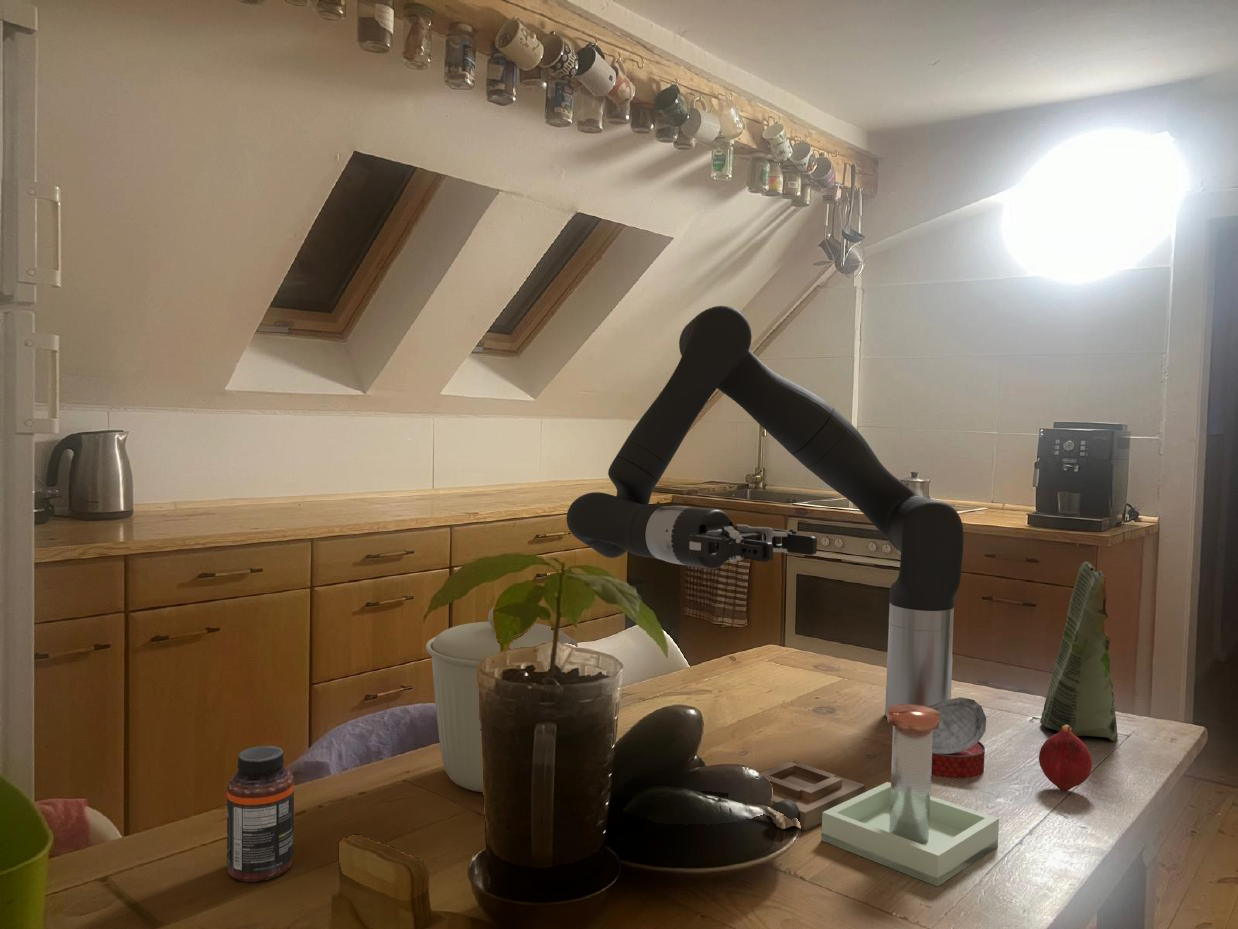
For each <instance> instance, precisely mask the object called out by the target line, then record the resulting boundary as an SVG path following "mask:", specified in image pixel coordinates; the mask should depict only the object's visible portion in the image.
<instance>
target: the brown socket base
mask: <svg viewBox="0 0 1238 929" xmlns="http://www.w3.org/2000/svg"><path fill="white" fill-rule="evenodd" d="M760 773H761V774H763V776H765V777H767V778H768V779H769V780H770V783H771V784H772V787H773V805H772V808H773V809H774V810H776V811H779V812H780V813H782V814H784V816H786V817H787V818H789V819H791V820H792V819H793V818H797V819H798V821H799V822H800V825H801V829H800V830H801V831H803V832H805V831H808V830H809V829H812V828H813V827H816V826H818V825H820V824H822V812H824V811H826V810H828V809H830V808H833V807H835V806H837V805H839V804H841V803H843V802H845V801H847V800H850V799H852V798H854V797H856V796H858V795H860V794H862V793H865V792H866V784H864V783H861V782H857V781H854V780H852V779H848V778H845V777H843V776H840V775H838V774H835V773H831V772H828V771H825V770H822V769H820V768H816V767H814V766H811V765H807V764H805V763H801V762H797V760H794V761H787V762H784V763H782V764H779V765H776V766H774V767H771V768H768V769H766V770H763V771H761V772H760Z"/></svg>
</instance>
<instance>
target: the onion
mask: <svg viewBox="0 0 1238 929" xmlns="http://www.w3.org/2000/svg"><path fill="white" fill-rule="evenodd" d="M1071 729H1072V728H1071V727H1070V726H1068V725H1064V726H1062V730H1061V731H1060V732H1059V731H1058V732H1057V733H1055V734H1053V735H1051V736H1049V737H1048V738H1047V739H1046V740H1045V741H1044V743H1043V744H1042V746H1041V748H1040V749H1039V753H1038V754H1039V755H1038V762H1039V767H1040V769H1041V771H1042V773H1043V775H1044V776H1045V777H1046V778H1047V779H1048V781H1050V782H1051V783H1052V784H1053V785H1055V787H1057V789H1059V790H1060V791H1063V792H1067V791H1069V790H1071V789H1073V788H1075V787H1078V786H1079V785H1081V784H1082V783H1084V782H1085V781H1086V780H1087V779H1088V777H1089V776H1090V773H1091V772H1092V767H1093V759H1092V755H1091V752H1090V750H1089V749H1088V746H1087V745H1086V744H1085V743H1084V742H1083V741H1082V739H1080V737H1078V736H1075V735H1074V734H1073V733H1072V732H1071Z"/></svg>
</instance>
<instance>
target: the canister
mask: <svg viewBox="0 0 1238 929" xmlns="http://www.w3.org/2000/svg"><path fill="white" fill-rule="evenodd" d="M494 607H495V606H493V607H491V609H490V610H489V611H488V617H487V618H488V621H478V622H469V623H464V624H463V623H462V624H459V625H455V626H451V627H449V628H448V629H445V630H442V631H441V632H440V633H439V634H437V635H436V636H434V637H433V638H430V639H429V640H428V641H427V642H426V644H425V649H426V652H427V654H429V656H431V663H432V664H431V666H432V678H433V689H434V700H435V710H436V720H437V730H438V737H439V739H438V740H439V746H440V753H441V754H440V755H441V760H442V764H443V768H444V771H445V773H446V775H447V776H448V777H449V778H450V780H451V781H452V782H453V783H455V785H458V786H460V787H461V788H463V789H466V790H471V791H473V792H480V793H484V792H483V767H482V746H481V736H480V729H481V726H480V720H479V688H478V681H477V669H478V666H479V662H480V661H482V660H483V659H484V658H485V657H487V656H490V655H492V654H497V653H499V652H500V646H499V643H498V642H497V639H496V633H495V630H494V623H493V609H494ZM551 627H552V626H550V625H546V624H541V623H536V622H535V624H534V626H532V627H531V629H530V630H528V632H527V633H525V634H524V635H523V636H521V637H519V638H517V640H514V641H513V643H511V644H510V646H509V648H510V649H514V648H520V647H534V646H537V645H540V644H542V643H551V642H552V640H553V631H552V630H551ZM559 642H560V643H568V644H572V645H575V646H576V647H578V642H577V641H576V640H575V639H574V638H572V637H571V636H568V635H567V634H566V633H565V632H564V631H563V630H560V631H559Z"/></svg>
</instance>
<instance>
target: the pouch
mask: <svg viewBox="0 0 1238 929" xmlns="http://www.w3.org/2000/svg"><path fill="white" fill-rule="evenodd" d="M1106 582H1107V581H1106V575H1104V572H1103V570H1099V571H1097V570H1096V566H1095V565H1094V566H1093V564H1092V563H1091V562H1089V561H1083V562H1082V563H1081V564H1080V567H1079V568H1078V574H1077V577H1076V580H1075V584H1074V586H1073V592H1072V594H1071V597H1070V601H1069V603H1068V604H1069V605H1068V611H1067V615H1066V620H1065V625H1064V630H1063V632H1062V637H1061V641H1060V645H1059V649H1058V652H1057V656H1056V660H1055V664H1054V667H1053V670H1052V675H1051V678H1050V682H1049V686H1048V690H1047V694H1046V697H1045V701H1044V705H1043V710H1042V712H1041V717H1040V719H1039V722H1040V723H1039V724H1041V725H1042V726H1043V727H1045V728H1047V729H1051V730H1053V731H1056V732H1058V733H1059V732H1060V731H1061V730H1062V726H1064V725H1068V726H1070V727H1071V728H1072V729H1071V732H1072V733H1073V734H1074V735H1075V736H1077V737H1078V736H1086V737H1098V738H1106V739H1108V741H1111V742H1116V741H1117V739H1118V737H1119V735H1118V726H1117V724H1118V723H1117V718H1116V717H1117V716H1116V707H1115V704H1114V702H1115V694H1114V690H1113V689H1114V688H1113V686H1114V685H1113V682H1112V678H1111V659H1110V656H1109V653H1108V650H1110V646H1111V645H1110V642H1111V639H1110V638H1111V636H1110V635H1109V634H1107V632H1106V631H1105V623H1106V621H1107V620H1108V619H1110V616H1109V615H1108V613H1107V608H1106V602H1107V592H1106V586H1107V583H1106Z"/></svg>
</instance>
